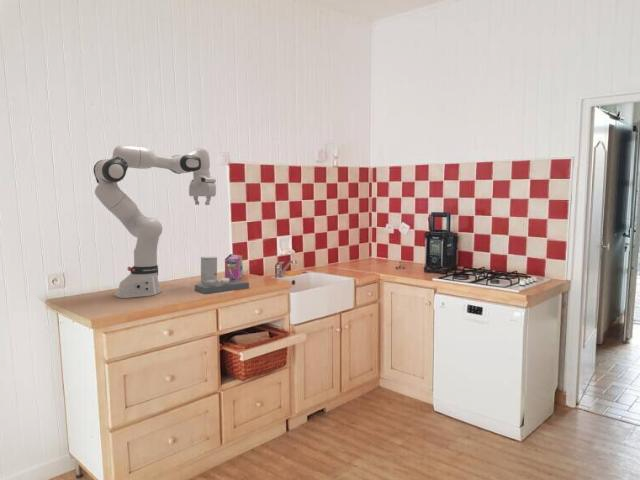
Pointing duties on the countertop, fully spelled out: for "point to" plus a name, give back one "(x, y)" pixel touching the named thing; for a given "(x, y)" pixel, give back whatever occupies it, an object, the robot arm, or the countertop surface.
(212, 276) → the skincare box
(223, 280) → the cream button
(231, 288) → the panel
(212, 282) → the grey button
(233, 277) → the lever
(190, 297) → the countertop surface
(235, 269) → the gum box
